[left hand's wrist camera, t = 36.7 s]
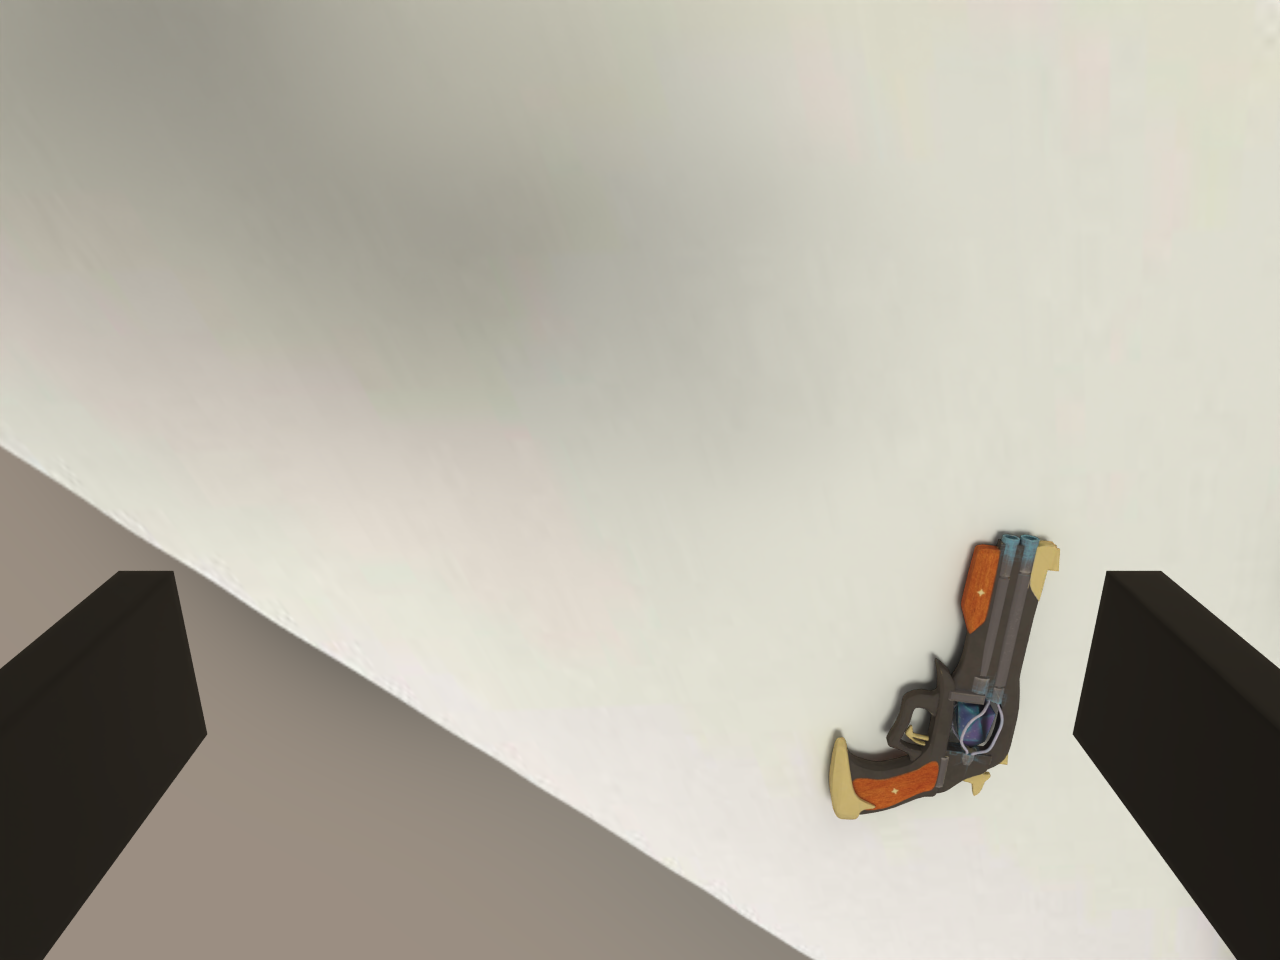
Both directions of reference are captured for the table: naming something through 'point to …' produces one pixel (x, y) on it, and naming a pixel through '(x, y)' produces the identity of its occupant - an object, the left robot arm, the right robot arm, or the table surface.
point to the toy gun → (959, 690)
